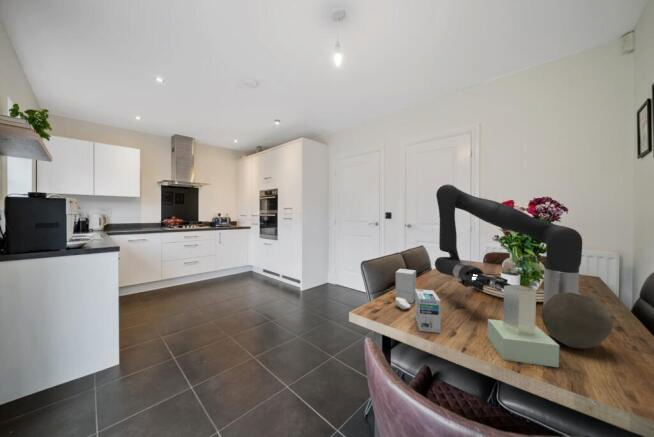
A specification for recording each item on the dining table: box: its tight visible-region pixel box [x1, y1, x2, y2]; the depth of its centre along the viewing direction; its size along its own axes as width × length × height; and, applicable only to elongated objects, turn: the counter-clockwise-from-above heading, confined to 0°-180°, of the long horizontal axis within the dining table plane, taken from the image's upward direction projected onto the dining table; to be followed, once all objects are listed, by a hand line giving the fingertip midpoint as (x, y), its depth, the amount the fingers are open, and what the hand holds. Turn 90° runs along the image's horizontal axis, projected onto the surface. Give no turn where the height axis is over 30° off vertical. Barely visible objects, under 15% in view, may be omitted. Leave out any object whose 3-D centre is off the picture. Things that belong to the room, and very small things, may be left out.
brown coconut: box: [541, 292, 614, 350], centre depth 72 cm, size 14×14×15 cm
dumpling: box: [394, 297, 412, 310], centre depth 99 cm, size 7×5×4 cm
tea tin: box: [502, 284, 537, 335], centre depth 69 cm, size 5×5×12 cm
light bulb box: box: [414, 288, 442, 334], centre depth 85 cm, size 11×7×11 cm, turn 168°
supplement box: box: [395, 268, 417, 304], centre depth 109 cm, size 7×7×13 cm
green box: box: [486, 318, 560, 368], centre depth 69 cm, size 12×12×6 cm
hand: (495, 287), depth 79 cm, fingers open, 8 cm apart
